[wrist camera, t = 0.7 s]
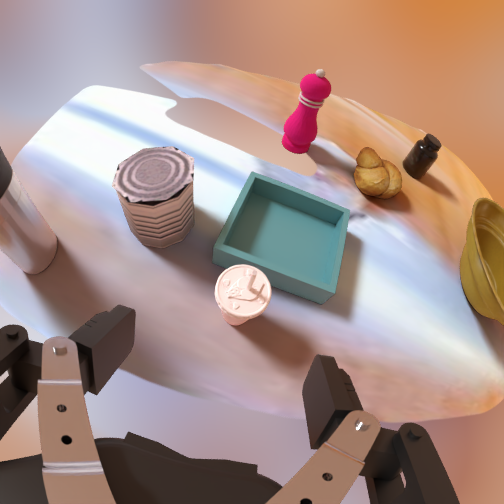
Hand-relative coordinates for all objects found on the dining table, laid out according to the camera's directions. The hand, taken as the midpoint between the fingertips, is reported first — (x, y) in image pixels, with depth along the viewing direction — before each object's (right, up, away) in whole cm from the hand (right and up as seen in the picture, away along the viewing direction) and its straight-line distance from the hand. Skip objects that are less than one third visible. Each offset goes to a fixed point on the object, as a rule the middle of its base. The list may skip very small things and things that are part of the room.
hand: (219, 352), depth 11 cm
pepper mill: (+11, +28, +48) cm, 57 cm away
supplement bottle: (+45, +26, +53) cm, 74 cm away
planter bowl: (+55, -4, +39) cm, 68 cm away
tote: (+6, +6, +35) cm, 36 cm away
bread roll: (+29, +19, +46) cm, 57 cm away
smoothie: (-1, -5, +28) cm, 29 cm away
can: (-14, +10, +34) cm, 38 cm away
